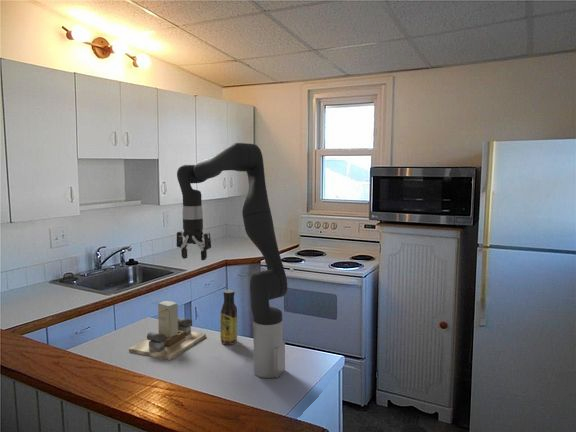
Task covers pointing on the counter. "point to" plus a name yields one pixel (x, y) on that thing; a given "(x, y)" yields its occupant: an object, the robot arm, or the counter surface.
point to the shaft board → (168, 342)
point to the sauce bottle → (228, 319)
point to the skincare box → (168, 318)
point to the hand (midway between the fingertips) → (194, 259)
